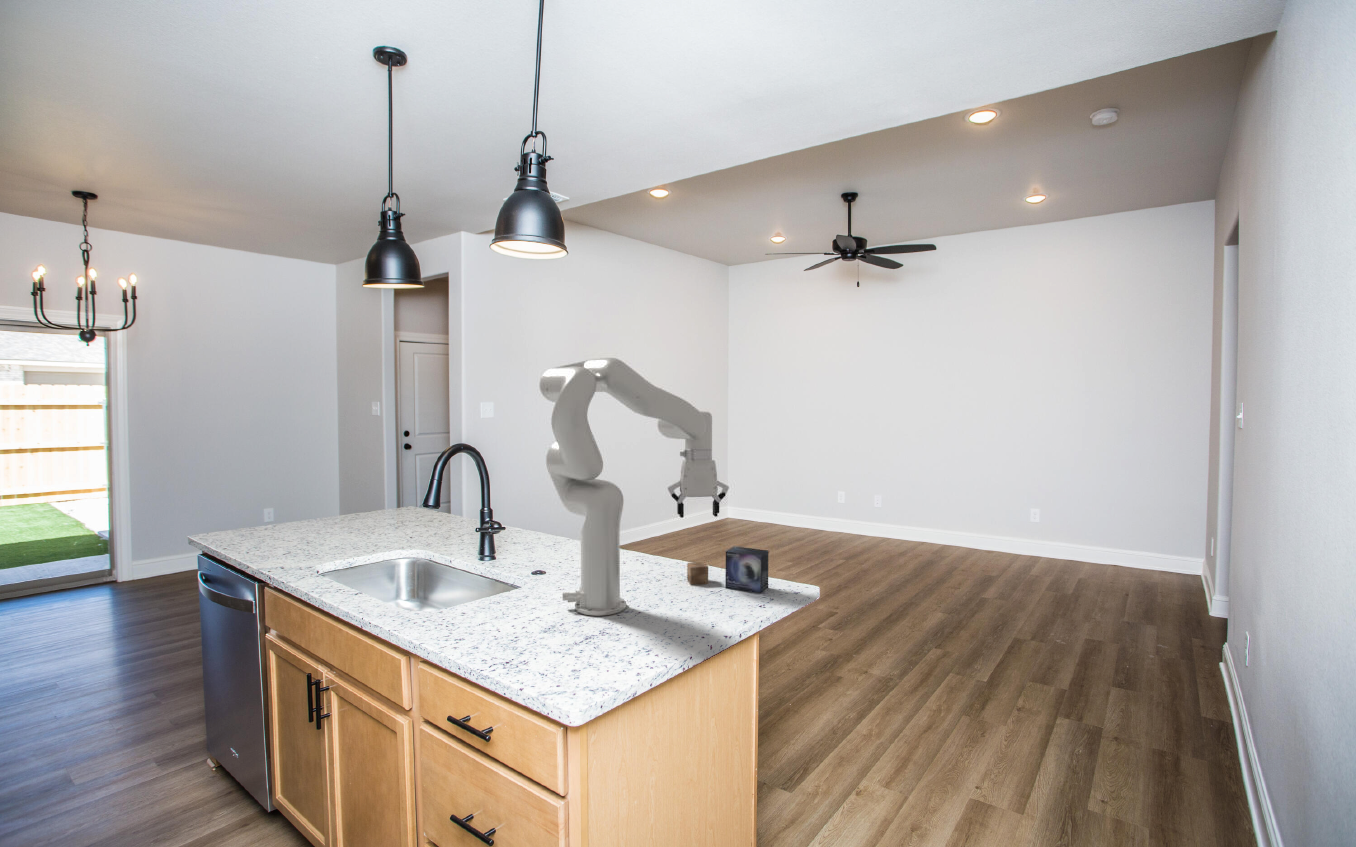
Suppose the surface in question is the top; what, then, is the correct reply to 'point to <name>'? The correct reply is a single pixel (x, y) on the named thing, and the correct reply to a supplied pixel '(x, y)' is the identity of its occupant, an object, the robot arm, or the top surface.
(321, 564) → the top surface
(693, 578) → the walnut cube
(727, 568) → the small box
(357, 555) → the top surface
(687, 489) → the robot arm
